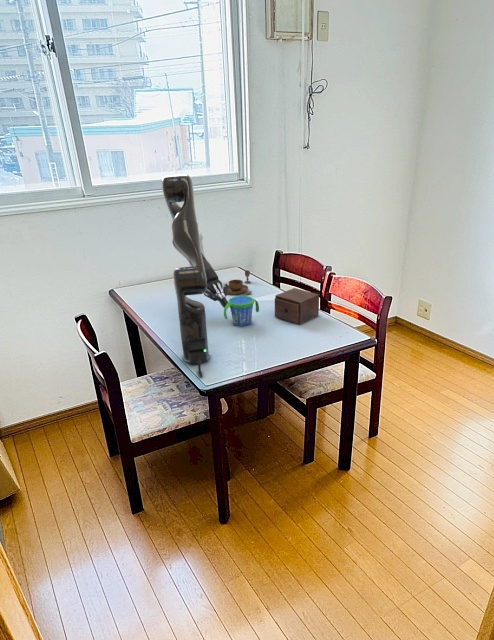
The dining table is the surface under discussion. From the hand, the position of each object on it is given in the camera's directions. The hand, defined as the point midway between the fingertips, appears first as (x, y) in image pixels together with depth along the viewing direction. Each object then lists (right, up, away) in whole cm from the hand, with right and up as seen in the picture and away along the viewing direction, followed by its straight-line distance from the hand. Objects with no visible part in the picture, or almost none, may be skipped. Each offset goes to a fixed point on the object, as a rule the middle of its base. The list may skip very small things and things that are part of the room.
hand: (226, 306), depth 211 cm
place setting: (+5, +15, +35) cm, 38 cm away
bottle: (-18, +22, +46) cm, 54 cm away
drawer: (+28, -4, +1) cm, 29 cm away
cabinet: (+30, -4, +3) cm, 30 cm away
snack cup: (+7, -7, -2) cm, 10 cm away
